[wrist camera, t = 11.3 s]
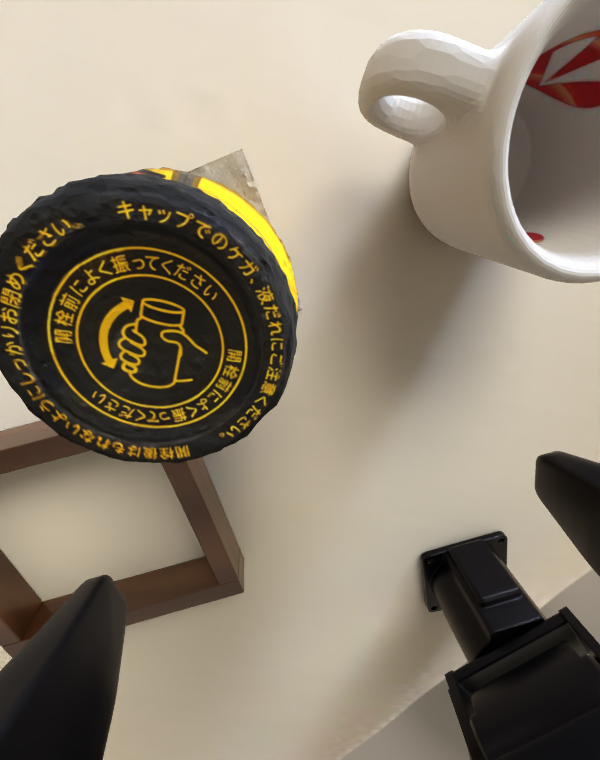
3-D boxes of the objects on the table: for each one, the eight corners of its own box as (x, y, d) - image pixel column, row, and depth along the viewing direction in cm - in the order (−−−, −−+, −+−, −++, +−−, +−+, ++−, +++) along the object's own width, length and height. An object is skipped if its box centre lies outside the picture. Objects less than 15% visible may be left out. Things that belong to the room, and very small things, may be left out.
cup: (304, 211, 17) (349, 202, 9) (367, -6, 14) (500, -259, 7) (496, 280, 19) (649, 314, 12) (580, 107, 16) (845, 15, 9)
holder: (244, 558, 25) (244, 592, 22) (34, 617, 24) (12, 658, 22) (172, 385, 19) (162, 407, 17) (-103, 457, 19) (-152, 490, 16)
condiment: (301, 308, 18) (384, 432, 7) (149, 371, 19) (10, 581, 8) (242, 149, 15) (233, -33, 4) (60, 226, 16) (-381, 234, 5)
